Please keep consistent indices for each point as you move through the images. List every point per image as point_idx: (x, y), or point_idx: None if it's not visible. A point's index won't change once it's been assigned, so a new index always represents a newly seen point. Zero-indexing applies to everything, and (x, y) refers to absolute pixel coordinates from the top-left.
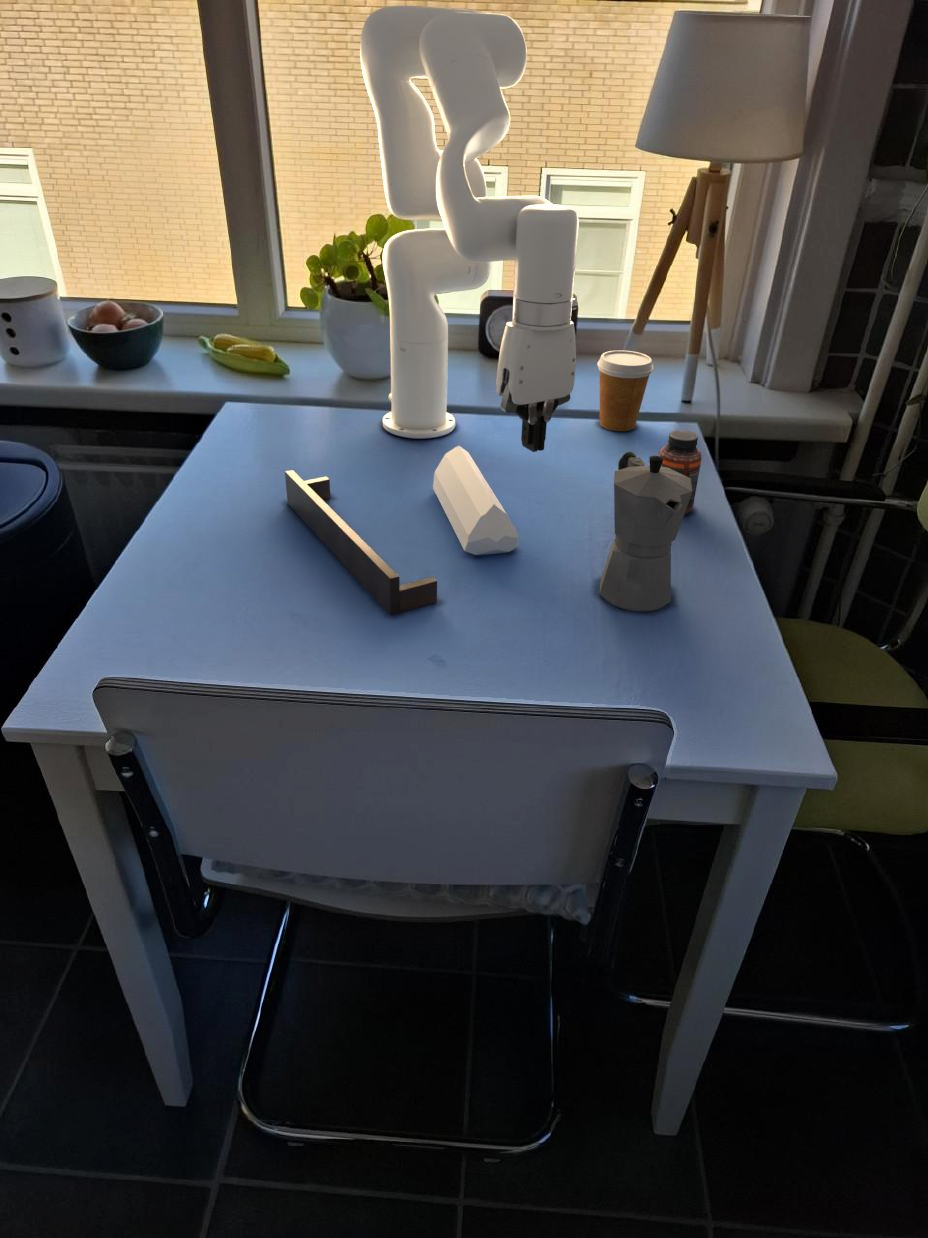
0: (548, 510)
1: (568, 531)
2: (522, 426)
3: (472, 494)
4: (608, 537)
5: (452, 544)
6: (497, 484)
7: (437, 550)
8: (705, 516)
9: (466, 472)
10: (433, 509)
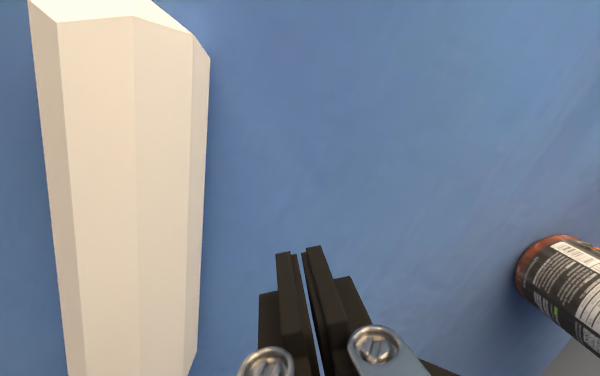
0: (324, 216)
1: None
2: (258, 344)
3: (69, 343)
4: None
5: None
6: (267, 46)
7: (37, 313)
8: None
9: (65, 241)
10: None
